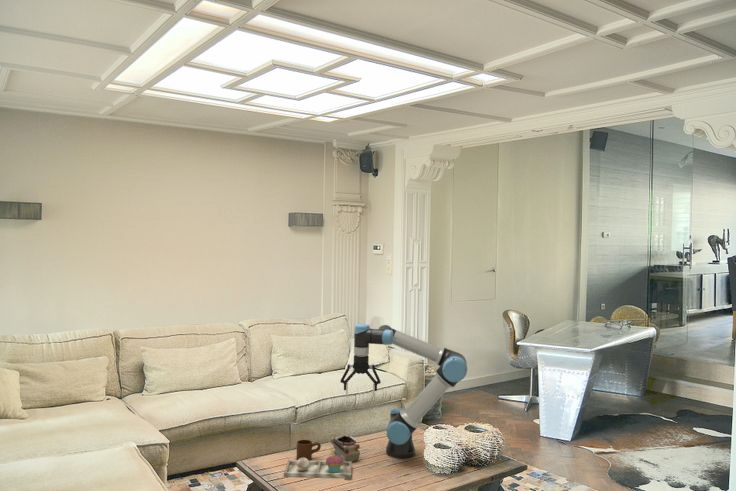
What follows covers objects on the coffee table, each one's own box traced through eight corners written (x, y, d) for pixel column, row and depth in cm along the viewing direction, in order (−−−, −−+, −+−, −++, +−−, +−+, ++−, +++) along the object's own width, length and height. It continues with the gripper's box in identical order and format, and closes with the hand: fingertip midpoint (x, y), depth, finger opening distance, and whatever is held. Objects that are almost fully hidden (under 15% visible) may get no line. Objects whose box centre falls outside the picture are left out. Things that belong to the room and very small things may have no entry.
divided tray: (351, 466, 298) (351, 461, 298) (350, 479, 283) (351, 474, 282) (287, 465, 298) (287, 460, 298) (283, 478, 282) (283, 473, 282)
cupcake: (329, 475, 285) (330, 450, 284) (322, 469, 292) (323, 444, 292) (346, 472, 289) (346, 447, 288) (338, 466, 296) (339, 441, 296)
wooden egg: (309, 468, 293) (309, 455, 293) (308, 473, 287) (308, 460, 287) (297, 467, 293) (297, 455, 293) (295, 472, 287) (296, 460, 287)
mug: (319, 457, 310) (320, 439, 310) (321, 463, 302) (321, 444, 302) (296, 458, 308) (296, 439, 308) (296, 463, 300) (297, 444, 300)
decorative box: (335, 465, 300) (335, 445, 300) (323, 451, 319) (324, 433, 318) (360, 462, 304) (361, 443, 304) (347, 449, 323) (348, 430, 323)
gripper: (385, 354, 312) (384, 395, 312) (336, 352, 311) (335, 394, 312) (386, 357, 304) (385, 399, 305) (336, 355, 304) (335, 398, 304)
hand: (360, 397), depth 308 cm, fingers open, 13 cm apart
